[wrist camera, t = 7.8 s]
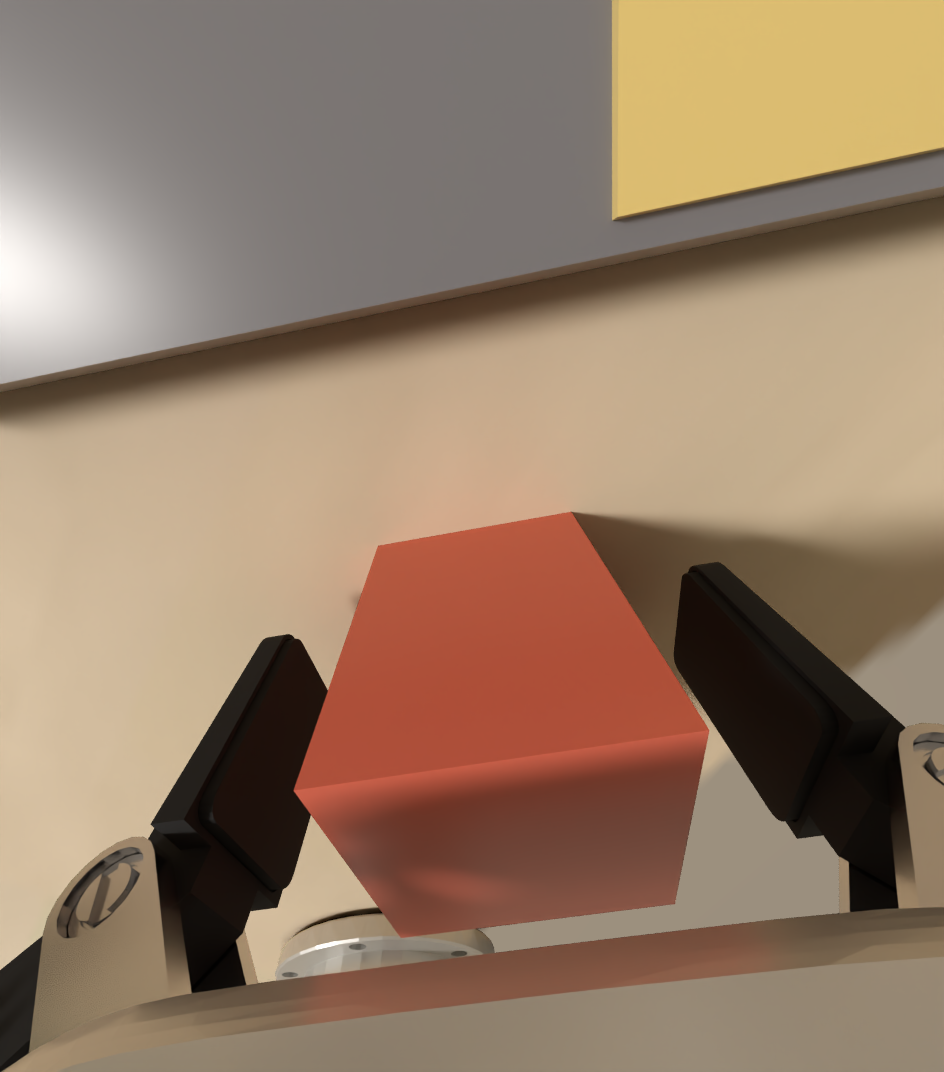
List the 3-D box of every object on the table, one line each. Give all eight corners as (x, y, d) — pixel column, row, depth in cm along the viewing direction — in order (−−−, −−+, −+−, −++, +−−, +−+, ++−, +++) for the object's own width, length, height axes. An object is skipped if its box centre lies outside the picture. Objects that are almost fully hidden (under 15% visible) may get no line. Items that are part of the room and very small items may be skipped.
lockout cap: (578, 652, 12) (674, 903, 7) (423, 677, 12) (400, 937, 7) (570, 511, 10) (708, 729, 4) (378, 544, 10) (293, 790, 5)
